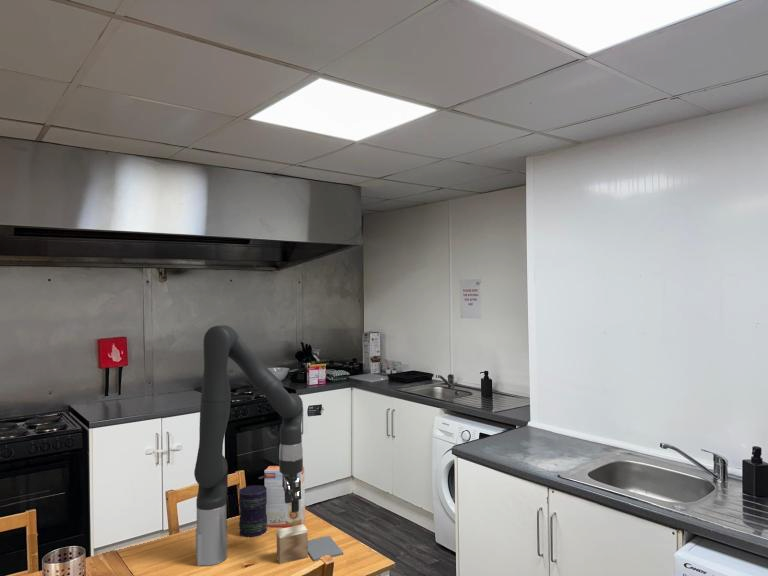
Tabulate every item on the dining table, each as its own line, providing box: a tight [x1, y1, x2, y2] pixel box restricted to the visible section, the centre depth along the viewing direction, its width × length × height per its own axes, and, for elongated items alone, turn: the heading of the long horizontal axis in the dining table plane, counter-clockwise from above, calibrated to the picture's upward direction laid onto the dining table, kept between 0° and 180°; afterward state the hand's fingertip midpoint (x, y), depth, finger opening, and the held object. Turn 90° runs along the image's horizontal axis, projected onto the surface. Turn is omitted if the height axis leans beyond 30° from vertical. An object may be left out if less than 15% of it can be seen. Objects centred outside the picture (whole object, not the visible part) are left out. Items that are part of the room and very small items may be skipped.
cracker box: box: [263, 465, 306, 528], centre depth 194 cm, size 14×6×21 cm, turn 84°
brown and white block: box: [276, 523, 309, 565], centre depth 168 cm, size 9×4×9 cm, turn 115°
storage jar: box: [238, 484, 268, 539], centre depth 188 cm, size 10×10×15 cm
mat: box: [308, 535, 344, 562], centre depth 173 cm, size 10×14×1 cm
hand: (291, 507), depth 168 cm, fingers open, 8 cm apart
